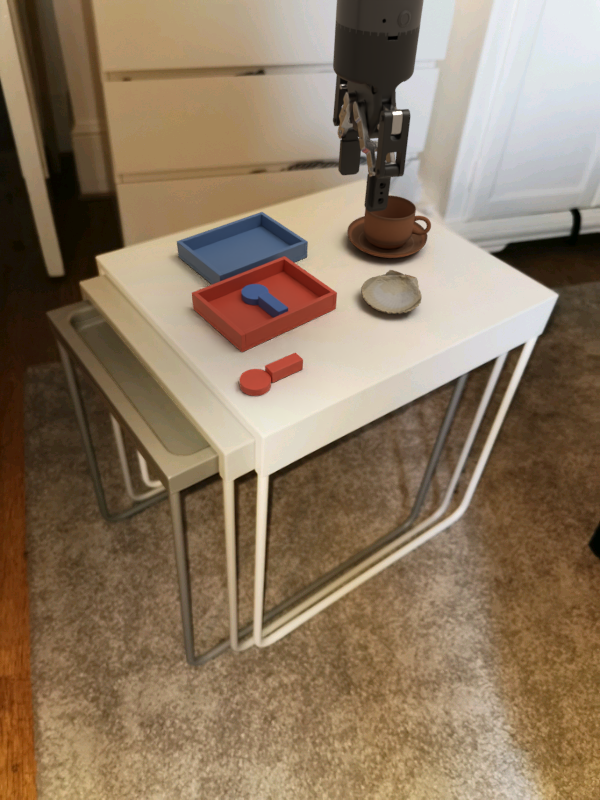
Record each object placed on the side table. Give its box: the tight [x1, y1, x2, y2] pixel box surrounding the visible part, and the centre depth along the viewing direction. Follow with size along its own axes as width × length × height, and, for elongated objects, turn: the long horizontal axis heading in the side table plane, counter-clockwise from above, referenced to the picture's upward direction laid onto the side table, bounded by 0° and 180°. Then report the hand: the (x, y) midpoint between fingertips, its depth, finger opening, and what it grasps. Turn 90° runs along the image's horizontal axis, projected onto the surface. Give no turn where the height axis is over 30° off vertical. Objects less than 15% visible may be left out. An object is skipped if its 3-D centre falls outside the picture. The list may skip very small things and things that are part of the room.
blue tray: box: [176, 211, 309, 285], centre depth 93 cm, size 15×11×3 cm
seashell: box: [360, 269, 423, 315], centre depth 85 cm, size 8×3×8 cm
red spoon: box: [239, 352, 304, 397], centre depth 74 cm, size 8×4×2 cm, turn 126°
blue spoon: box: [241, 284, 288, 318], centre depth 83 cm, size 8×4×2 cm, turn 39°
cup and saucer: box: [346, 194, 432, 259], centre depth 95 cm, size 12×12×6 cm
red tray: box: [191, 256, 338, 353], centre depth 83 cm, size 15×11×3 cm
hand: (361, 190), depth 68 cm, fingers open, 8 cm apart
